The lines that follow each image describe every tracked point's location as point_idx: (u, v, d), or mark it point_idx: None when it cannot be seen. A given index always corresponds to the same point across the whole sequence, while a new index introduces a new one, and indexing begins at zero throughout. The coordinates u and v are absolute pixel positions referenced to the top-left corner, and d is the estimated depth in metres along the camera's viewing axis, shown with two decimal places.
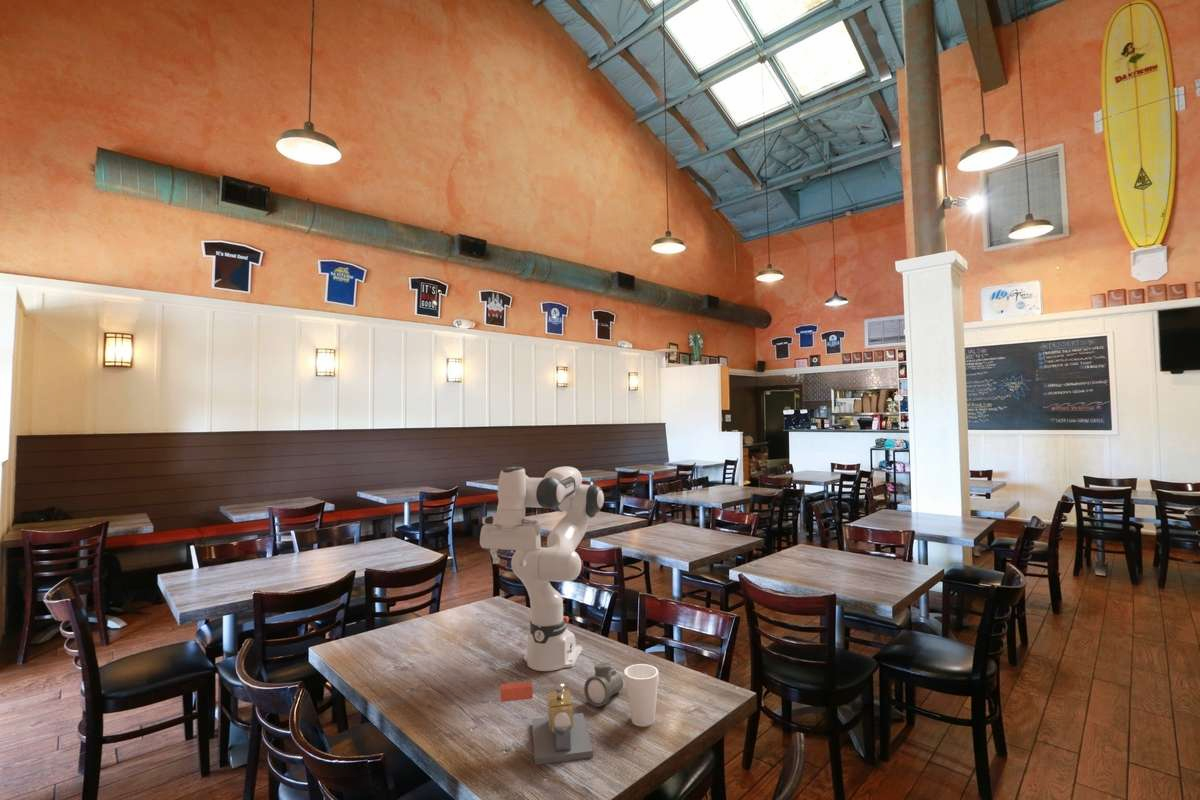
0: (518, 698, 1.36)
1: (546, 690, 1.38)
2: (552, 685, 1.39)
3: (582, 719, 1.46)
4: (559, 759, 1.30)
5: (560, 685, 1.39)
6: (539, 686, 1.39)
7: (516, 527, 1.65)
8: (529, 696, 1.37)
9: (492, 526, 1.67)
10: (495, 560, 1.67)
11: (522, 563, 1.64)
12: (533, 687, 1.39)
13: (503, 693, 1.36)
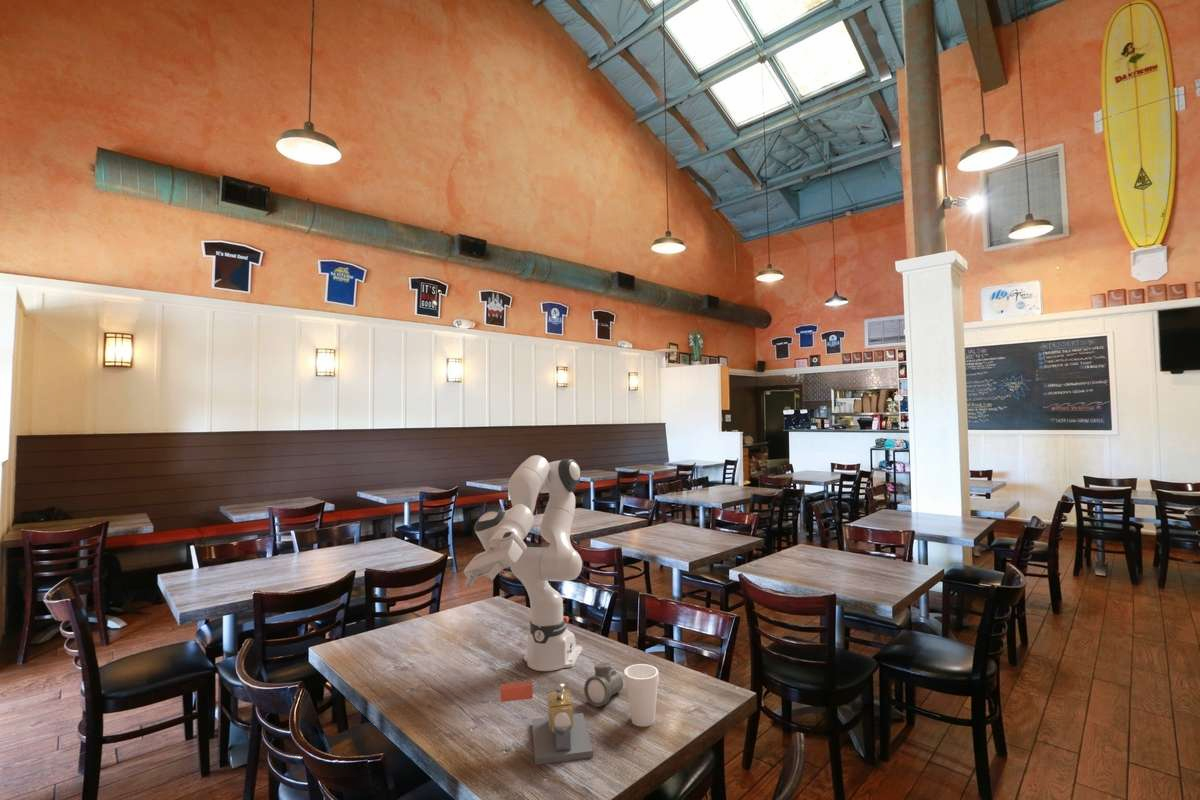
0: (518, 698, 1.36)
1: (546, 690, 1.38)
2: (552, 685, 1.39)
3: (582, 719, 1.46)
4: (559, 759, 1.30)
5: (560, 685, 1.39)
6: (539, 686, 1.39)
7: None
8: (529, 696, 1.37)
9: None
10: None
11: None
12: (533, 687, 1.39)
13: (503, 693, 1.36)
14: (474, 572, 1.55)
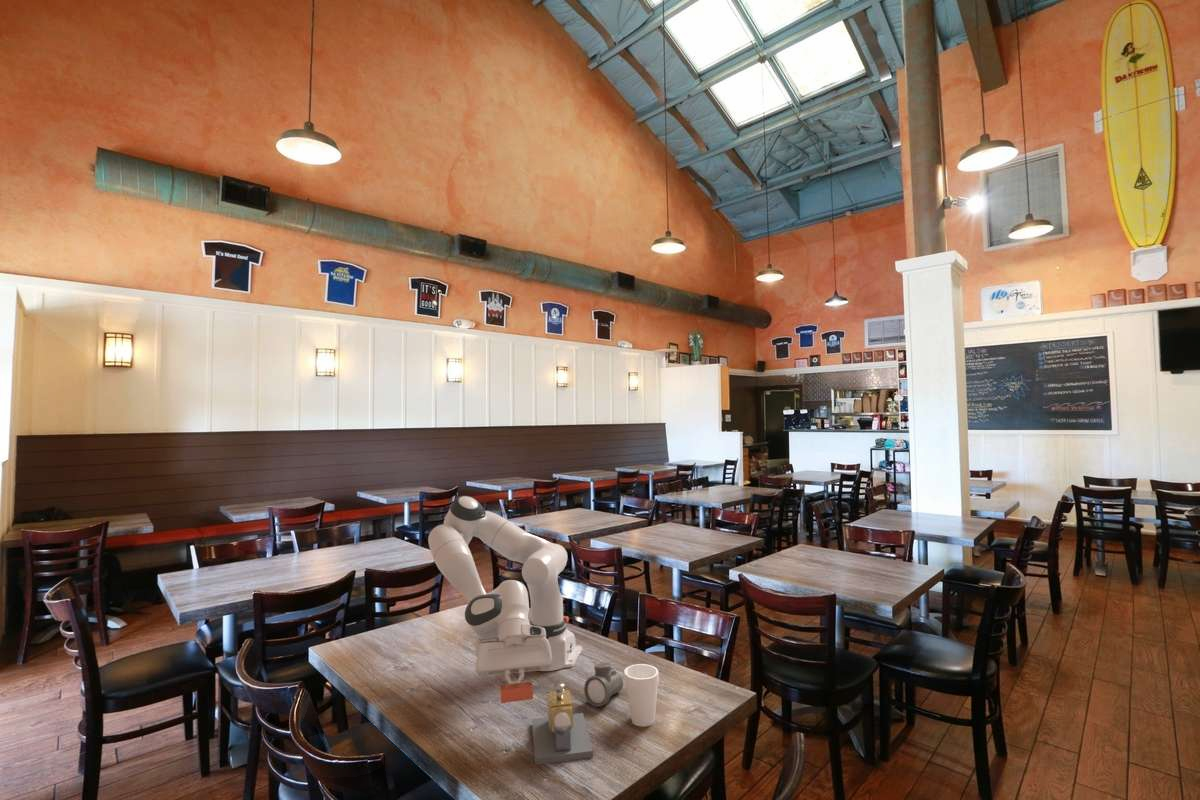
0: (518, 699, 1.36)
1: (546, 690, 1.38)
2: (552, 685, 1.39)
3: (582, 719, 1.46)
4: (559, 759, 1.30)
5: (560, 685, 1.39)
6: (539, 686, 1.39)
7: None
8: (529, 696, 1.37)
9: None
10: None
11: None
12: (533, 687, 1.38)
13: (503, 694, 1.35)
14: (510, 670, 1.42)
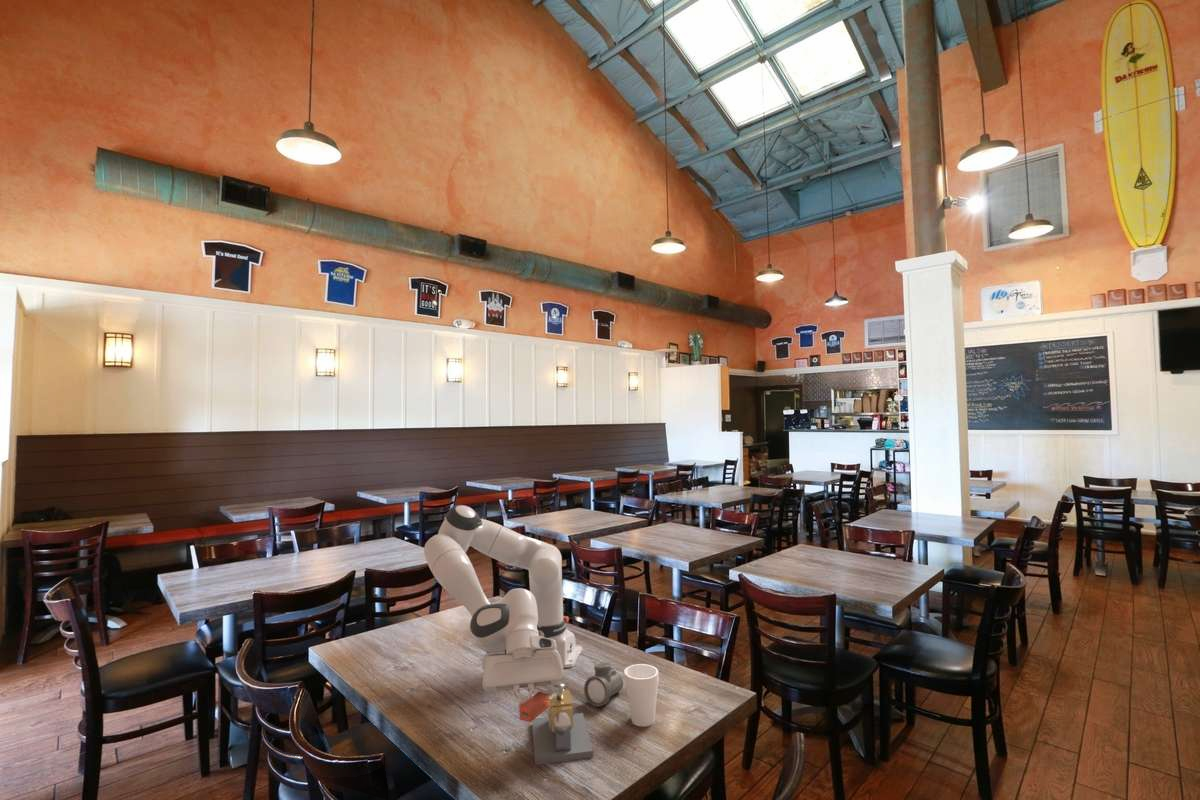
0: (540, 711, 1.30)
1: (555, 693, 1.36)
2: (555, 687, 1.38)
3: (582, 719, 1.46)
4: (559, 759, 1.30)
5: (562, 684, 1.40)
6: (547, 693, 1.35)
7: None
8: (547, 705, 1.32)
9: None
10: None
11: None
12: None
13: (531, 712, 1.26)
14: (519, 685, 1.34)
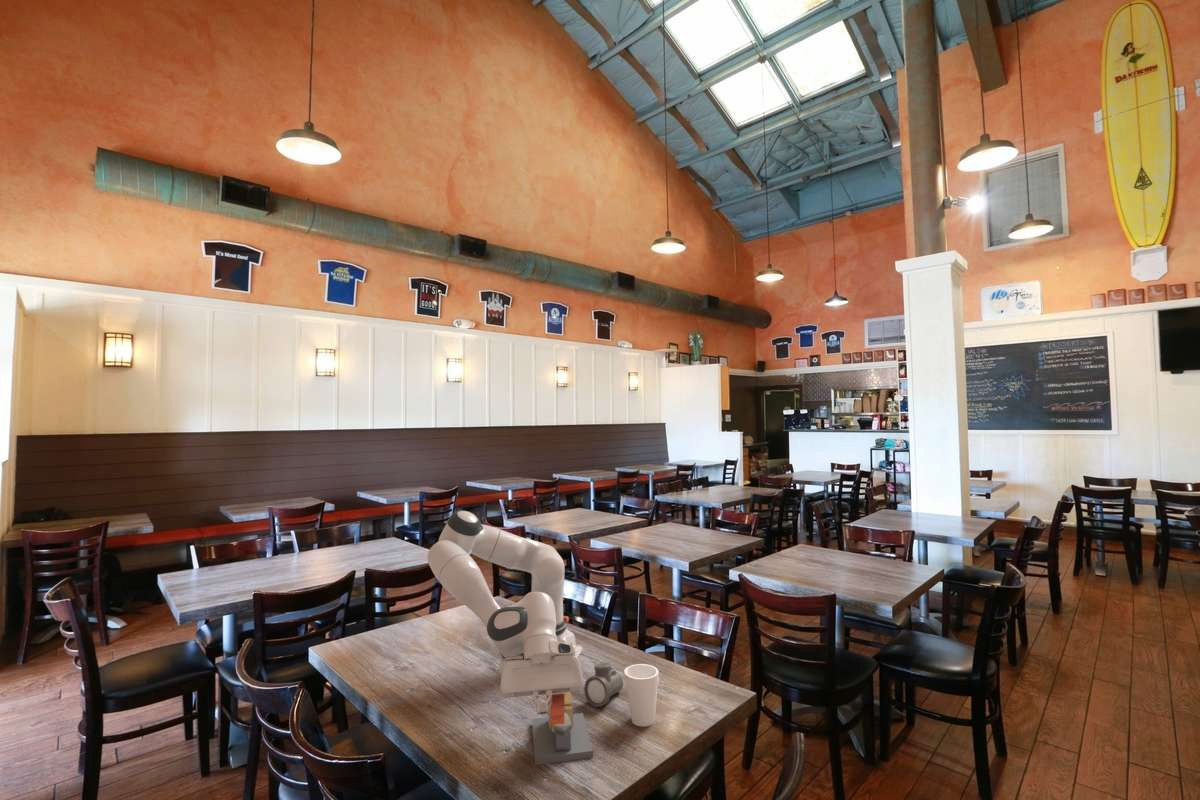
0: (564, 712, 1.29)
1: None
2: None
3: (582, 719, 1.46)
4: (559, 759, 1.30)
5: None
6: (558, 694, 1.35)
7: None
8: None
9: None
10: None
11: None
12: None
13: (563, 713, 1.26)
14: (538, 691, 1.31)
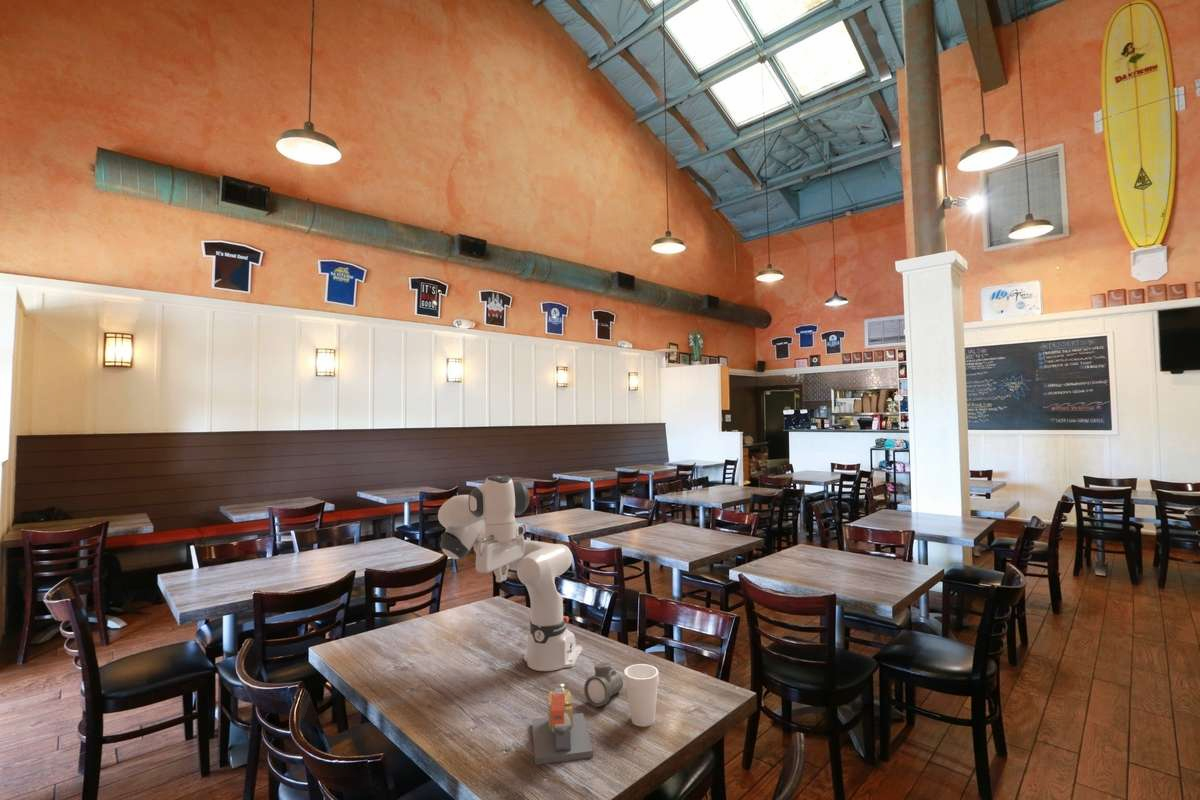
0: (564, 712, 1.29)
1: None
2: (559, 688, 1.38)
3: (582, 719, 1.46)
4: (559, 759, 1.30)
5: (562, 683, 1.40)
6: (558, 694, 1.35)
7: None
8: None
9: None
10: None
11: None
12: None
13: (564, 713, 1.26)
14: None
